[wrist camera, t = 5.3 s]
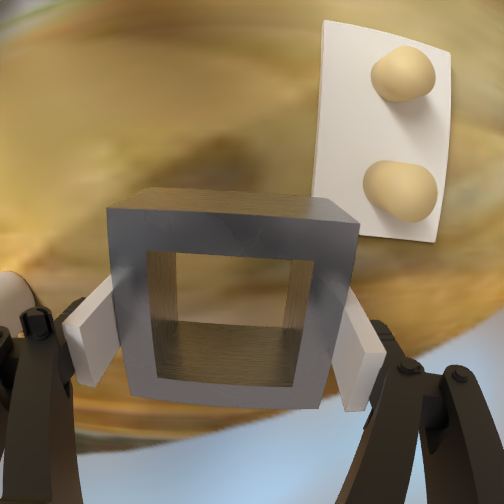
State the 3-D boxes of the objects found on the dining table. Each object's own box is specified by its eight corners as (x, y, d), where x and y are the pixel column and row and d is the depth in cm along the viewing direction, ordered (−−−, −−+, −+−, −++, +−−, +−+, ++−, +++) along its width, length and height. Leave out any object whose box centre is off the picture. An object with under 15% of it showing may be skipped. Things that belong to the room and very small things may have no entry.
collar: (147, 187, 15) (106, 208, 11) (328, 198, 15) (360, 223, 11) (155, 339, 18) (131, 395, 14) (304, 349, 18) (318, 408, 14)
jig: (322, 24, 21) (338, -9, 15) (443, 55, 21) (483, 39, 15) (307, 226, 27) (320, 251, 21) (429, 238, 27) (466, 262, 20)
